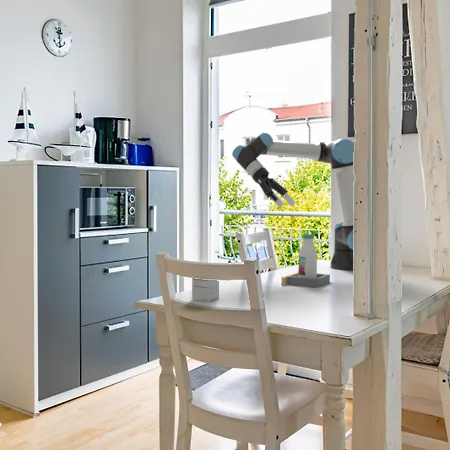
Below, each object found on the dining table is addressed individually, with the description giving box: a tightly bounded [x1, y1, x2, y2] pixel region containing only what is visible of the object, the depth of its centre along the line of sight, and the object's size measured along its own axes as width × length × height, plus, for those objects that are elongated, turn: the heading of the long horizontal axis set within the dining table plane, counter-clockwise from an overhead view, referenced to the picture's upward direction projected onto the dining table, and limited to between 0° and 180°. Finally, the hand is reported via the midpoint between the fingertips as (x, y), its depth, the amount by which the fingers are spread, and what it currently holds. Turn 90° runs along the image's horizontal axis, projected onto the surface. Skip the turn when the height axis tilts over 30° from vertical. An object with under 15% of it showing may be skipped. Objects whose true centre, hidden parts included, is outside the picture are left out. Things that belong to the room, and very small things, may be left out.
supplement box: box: [191, 277, 220, 303], centre depth 201 cm, size 7×7×13 cm
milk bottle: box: [297, 233, 318, 279], centre depth 237 cm, size 8×8×20 cm
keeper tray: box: [280, 271, 331, 288], centre depth 238 cm, size 20×15×3 cm
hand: (288, 205), depth 251 cm, fingers open, 13 cm apart
